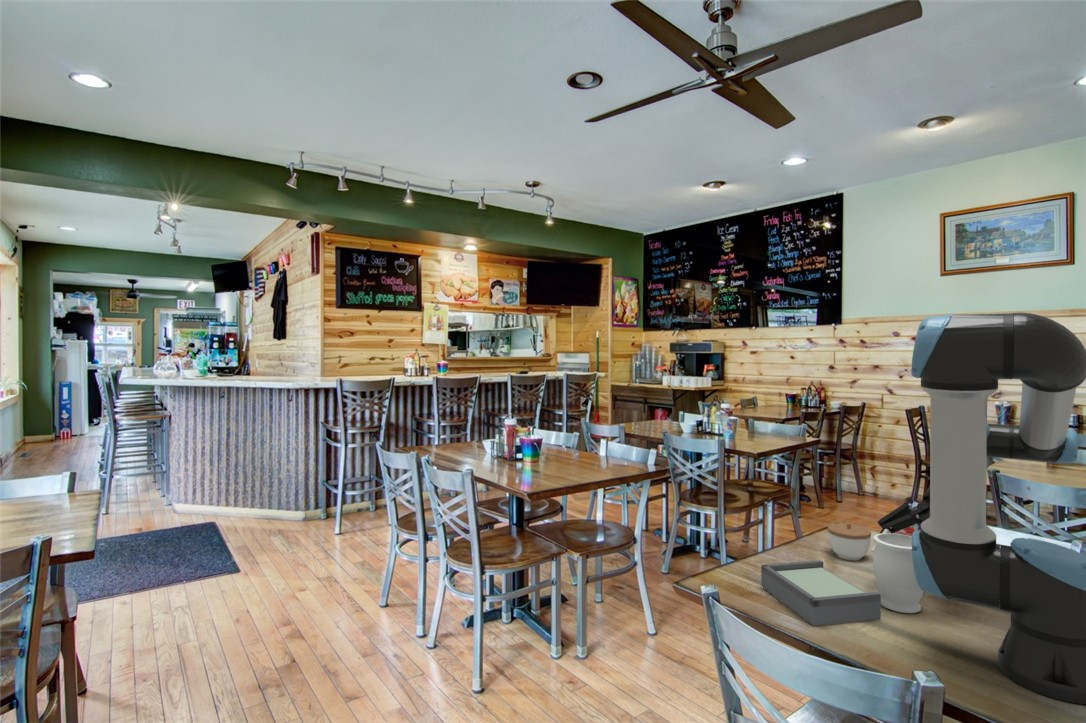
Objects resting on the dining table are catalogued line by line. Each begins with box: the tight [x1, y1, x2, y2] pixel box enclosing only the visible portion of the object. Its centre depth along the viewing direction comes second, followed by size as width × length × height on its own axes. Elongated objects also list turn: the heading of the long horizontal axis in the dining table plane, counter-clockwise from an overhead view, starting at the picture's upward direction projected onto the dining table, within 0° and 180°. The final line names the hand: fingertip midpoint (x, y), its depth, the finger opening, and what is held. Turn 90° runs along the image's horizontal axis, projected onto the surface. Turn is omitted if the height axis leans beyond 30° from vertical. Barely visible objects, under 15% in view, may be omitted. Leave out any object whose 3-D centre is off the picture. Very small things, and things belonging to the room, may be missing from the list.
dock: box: [760, 559, 882, 627], centre depth 132 cm, size 20×16×6 cm
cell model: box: [893, 524, 921, 537], centre depth 156 cm, size 17×20×11 cm
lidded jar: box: [827, 522, 872, 561], centre depth 160 cm, size 11×11×9 cm
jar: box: [872, 533, 925, 614], centre depth 130 cm, size 11×10×15 cm
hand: (901, 564), depth 131 cm, fingers open, 13 cm apart
